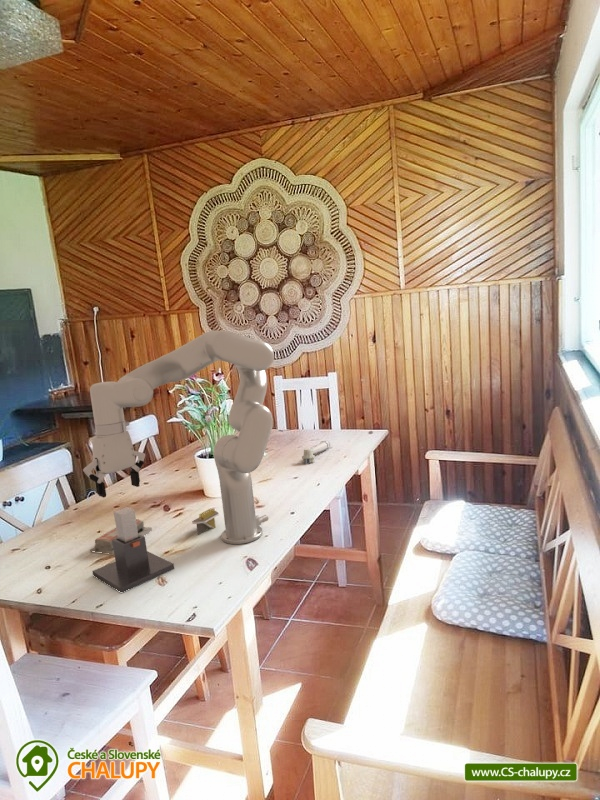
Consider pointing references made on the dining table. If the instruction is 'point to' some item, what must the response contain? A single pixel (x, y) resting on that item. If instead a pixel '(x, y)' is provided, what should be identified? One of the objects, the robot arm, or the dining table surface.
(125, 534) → the column
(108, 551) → the packaged product
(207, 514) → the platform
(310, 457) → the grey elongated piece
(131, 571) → the stand housing
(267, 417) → the robot arm
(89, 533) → the dining table surface
